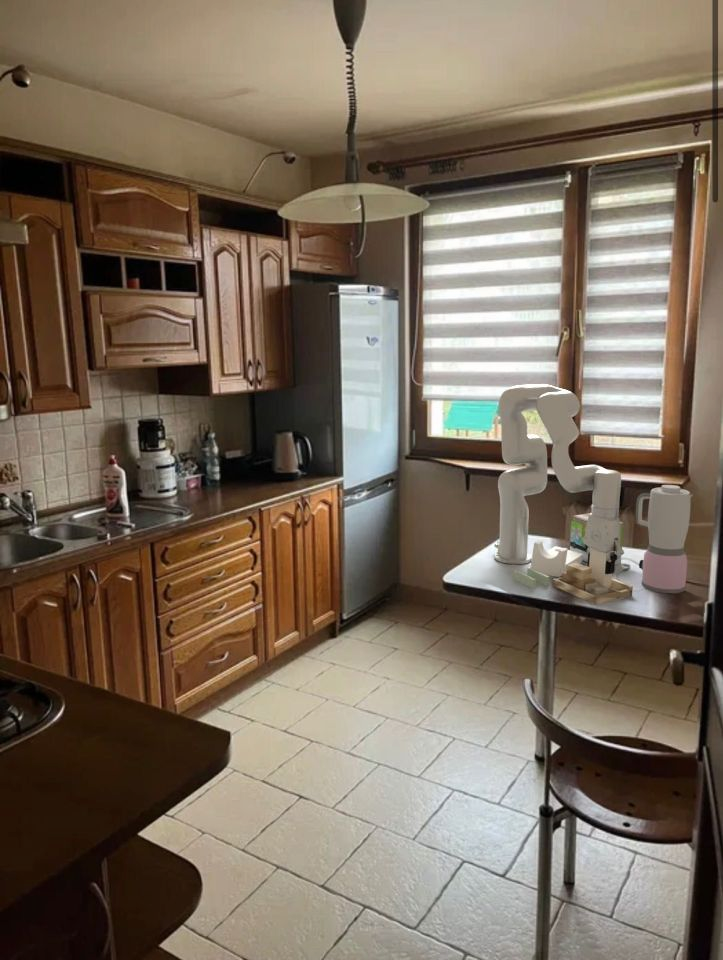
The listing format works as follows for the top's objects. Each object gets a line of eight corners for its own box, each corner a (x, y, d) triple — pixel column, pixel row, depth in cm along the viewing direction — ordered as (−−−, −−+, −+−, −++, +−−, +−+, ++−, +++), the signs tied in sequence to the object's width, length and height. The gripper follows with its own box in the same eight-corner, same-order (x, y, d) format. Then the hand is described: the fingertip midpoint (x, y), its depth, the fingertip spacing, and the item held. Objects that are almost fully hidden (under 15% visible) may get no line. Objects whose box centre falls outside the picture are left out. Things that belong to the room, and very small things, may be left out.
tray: (552, 588, 217) (552, 575, 216) (586, 581, 223) (587, 568, 222) (595, 608, 201) (596, 594, 200) (631, 600, 207) (632, 586, 207)
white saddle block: (558, 582, 224) (563, 551, 222) (529, 573, 230) (534, 543, 228) (581, 567, 238) (585, 538, 235) (553, 559, 244) (557, 530, 241)
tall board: (587, 581, 216) (591, 534, 213) (595, 579, 217) (598, 532, 214) (603, 588, 211) (607, 539, 207) (611, 586, 212) (615, 538, 209)
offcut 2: (561, 585, 217) (562, 572, 216) (573, 582, 219) (573, 570, 218) (583, 594, 209) (583, 581, 208) (594, 592, 211) (595, 579, 210)
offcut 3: (584, 595, 208) (585, 584, 207) (596, 593, 209) (596, 582, 209) (596, 601, 203) (597, 590, 203) (607, 599, 205) (608, 588, 204)
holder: (510, 583, 222) (511, 571, 222) (530, 579, 226) (531, 567, 225) (531, 593, 214) (532, 580, 213) (552, 588, 217) (552, 576, 216)
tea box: (568, 555, 249) (570, 515, 246) (590, 552, 253) (592, 511, 250) (599, 568, 236) (601, 525, 233) (622, 564, 240) (624, 521, 237)
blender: (690, 588, 216) (699, 485, 209) (678, 600, 207) (687, 493, 200) (638, 578, 226) (644, 479, 219) (624, 588, 217) (631, 486, 210)
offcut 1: (566, 574, 214) (566, 565, 214) (574, 572, 216) (575, 562, 216) (582, 580, 209) (583, 570, 209) (591, 577, 212) (591, 567, 211)
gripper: (574, 506, 215) (570, 563, 219) (618, 520, 200) (613, 581, 204) (592, 503, 218) (588, 559, 222) (637, 517, 203) (632, 576, 207)
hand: (600, 569), depth 213 cm, fingers closed on tall board, 6 cm apart
